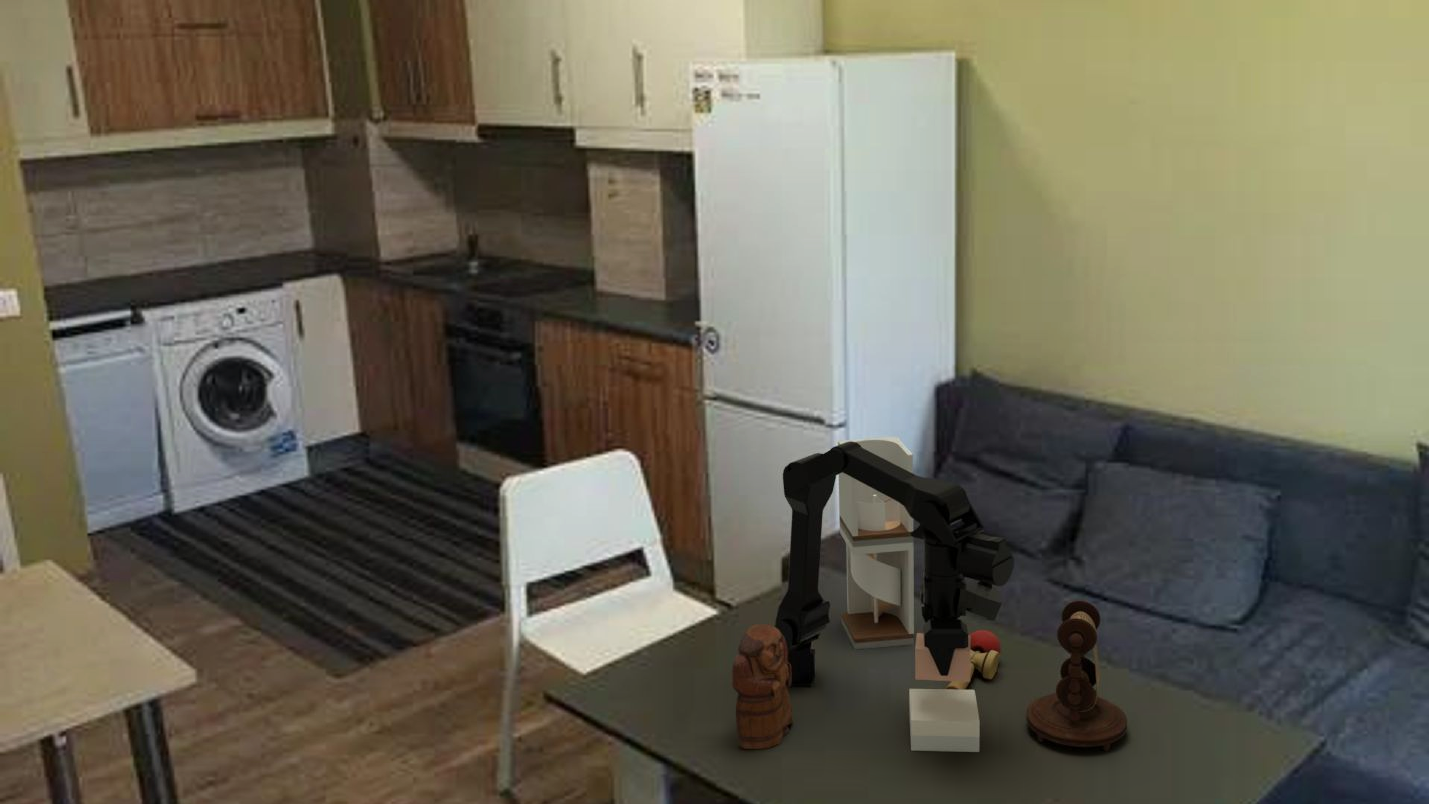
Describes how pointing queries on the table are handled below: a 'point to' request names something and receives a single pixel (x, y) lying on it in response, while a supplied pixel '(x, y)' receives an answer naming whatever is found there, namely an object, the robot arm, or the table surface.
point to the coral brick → (928, 668)
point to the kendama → (981, 657)
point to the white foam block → (943, 720)
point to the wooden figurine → (762, 687)
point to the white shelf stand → (877, 556)
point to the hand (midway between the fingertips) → (943, 666)
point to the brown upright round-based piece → (1077, 689)
